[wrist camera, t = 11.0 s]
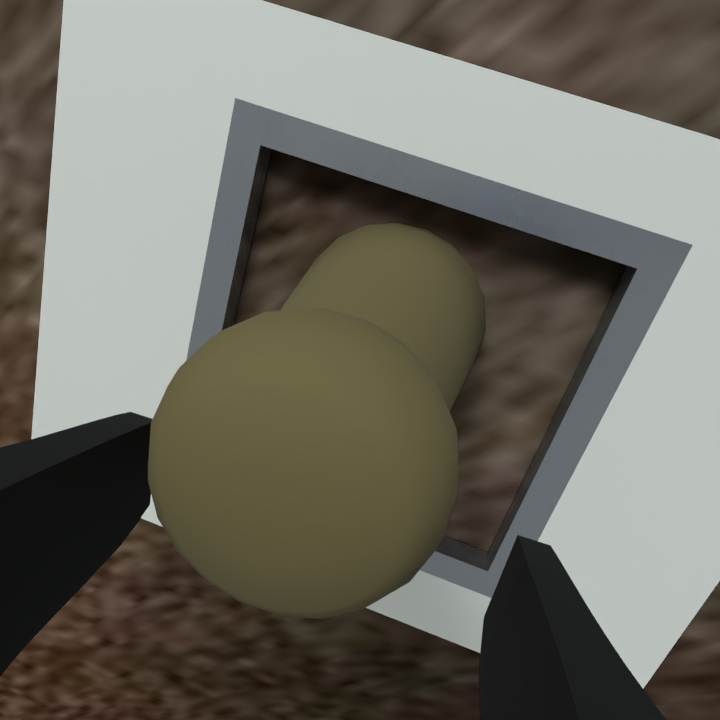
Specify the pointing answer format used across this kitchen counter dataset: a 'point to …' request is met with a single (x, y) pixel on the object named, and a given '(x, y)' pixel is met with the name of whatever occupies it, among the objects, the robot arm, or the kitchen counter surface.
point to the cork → (324, 429)
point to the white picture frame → (428, 181)
